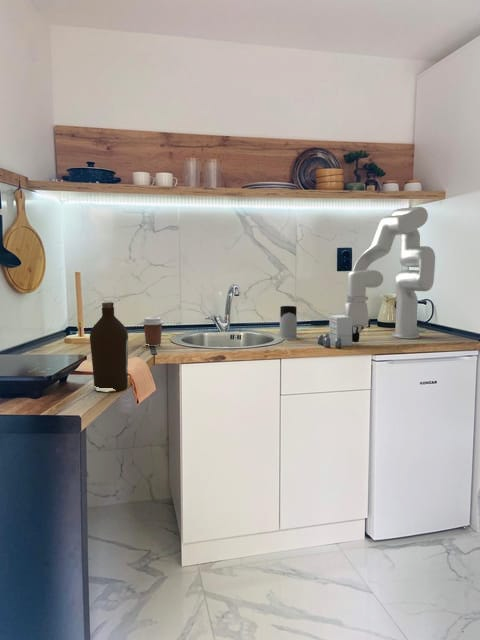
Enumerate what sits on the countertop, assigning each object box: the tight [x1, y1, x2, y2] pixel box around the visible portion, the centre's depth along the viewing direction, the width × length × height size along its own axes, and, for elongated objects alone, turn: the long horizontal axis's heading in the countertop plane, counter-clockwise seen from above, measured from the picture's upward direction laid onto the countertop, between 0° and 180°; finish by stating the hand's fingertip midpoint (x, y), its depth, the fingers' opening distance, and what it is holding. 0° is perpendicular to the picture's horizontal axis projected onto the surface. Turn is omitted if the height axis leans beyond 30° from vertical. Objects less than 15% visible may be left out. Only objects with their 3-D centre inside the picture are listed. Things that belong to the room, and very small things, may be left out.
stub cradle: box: [317, 333, 342, 350], centre depth 201 cm, size 6×15×4 cm, turn 13°
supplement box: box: [328, 314, 353, 347], centre depth 202 cm, size 7×7×13 cm
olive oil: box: [89, 301, 129, 393], centre depth 134 cm, size 11×11×25 cm
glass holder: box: [279, 305, 298, 341], centre depth 221 cm, size 9×14×15 cm, turn 179°
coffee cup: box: [141, 316, 164, 347], centre depth 202 cm, size 9×9×12 cm
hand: (355, 341), depth 204 cm, fingers closed
